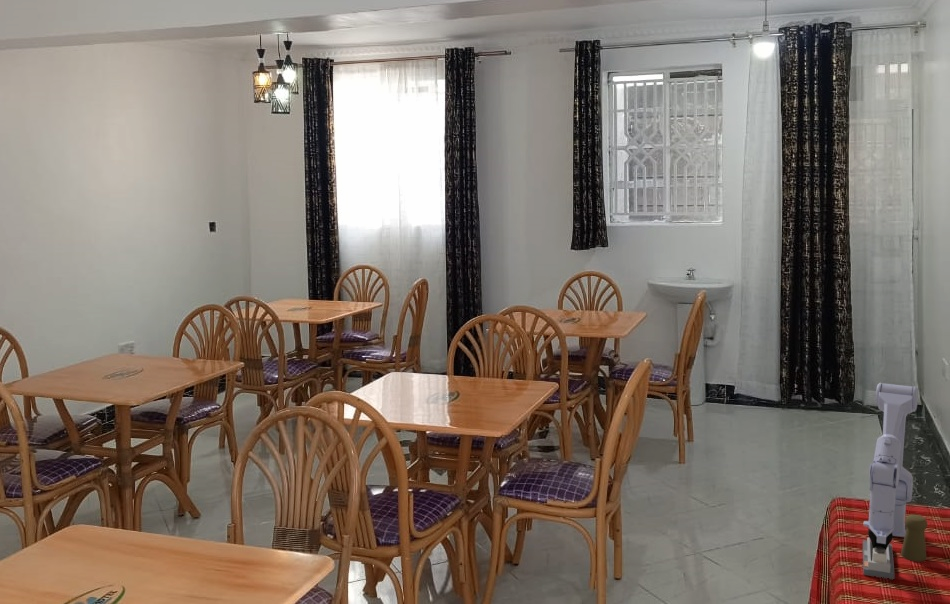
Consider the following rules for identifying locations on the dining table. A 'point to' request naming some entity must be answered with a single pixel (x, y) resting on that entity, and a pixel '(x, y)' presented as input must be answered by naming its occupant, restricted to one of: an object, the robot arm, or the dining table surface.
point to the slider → (879, 554)
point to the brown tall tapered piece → (914, 538)
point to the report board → (877, 567)
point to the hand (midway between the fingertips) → (878, 558)
